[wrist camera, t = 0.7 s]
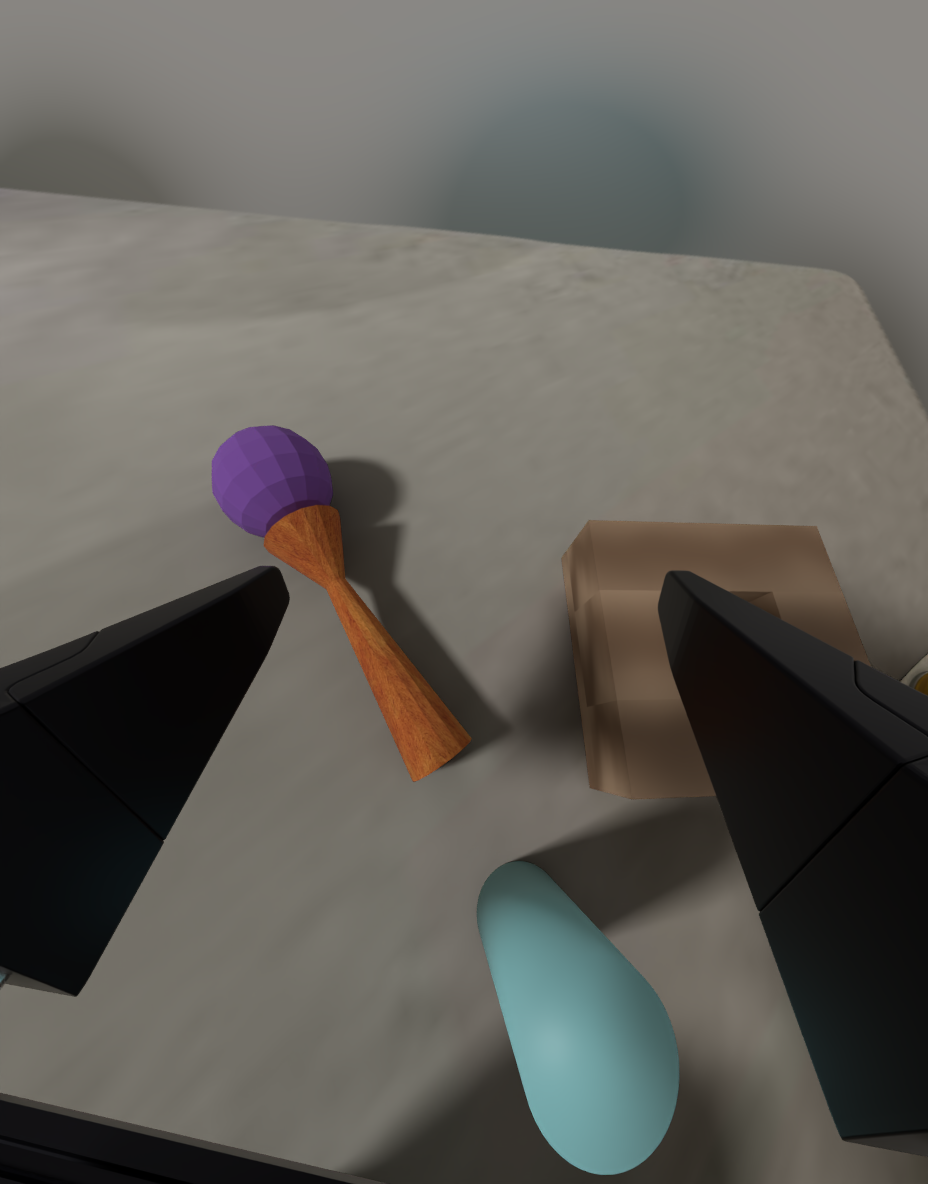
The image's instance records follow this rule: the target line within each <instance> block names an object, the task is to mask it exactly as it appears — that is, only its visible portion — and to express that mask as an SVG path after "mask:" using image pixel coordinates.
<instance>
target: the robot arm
mask: <svg viewBox="0 0 928 1184" xmlns="http://www.w3.org/2000/svg"><path fill="white" fill-rule="evenodd" d="M289 600H290V597H289V592H288V590H287V587H286V584H285V582H284V579H283V576H282V574H281V571H280V570H279V569H278V568H277V567H275V566H259V567H256V568H253V569H251V570H248V571H246V572H243V573H241V574H238V575H236V576H233V577H231V578H229V579H226V580H224V581H221V582H219V583H216V584H214V585H211V586H209V587H206V588H204V589H201V590H199V591H196V592H194V593H191V594H189V595H186V596H184V597H181V598H179V599H176V600H174V601H171V602H169V603H166V604H164V605H161V606H159V607H156V608H154V609H151V610H149V611H146V612H144V613H141V614H139V615H136V616H134V617H131V618H129V619H126V620H124V621H121V622H119V623H116V624H114V625H111V626H109V627H106V628H104V629H102V630H101V631H100V632H99V631H96V632H94V633H91V634H89V635H86V636H84V637H81V638H79V639H76V640H74V641H71V642H68V643H66V644H63V645H61V646H58V647H56V648H53V649H51V650H48V651H45V652H43V653H40V654H37V655H35V656H32V657H29V658H27V659H24V660H21V661H19V662H16V663H13V664H11V665H8V666H5V667H2V668H0V990H1V988H2V987H3V986H4V985H5V984H10V985H15V986H21V987H26V988H31V989H37V990H42V991H47V992H53V993H58V994H63V995H69V996H74V997H76V996H78V994H79V993H80V991H81V990H82V988H83V987H84V985H85V984H86V982H87V981H88V979H89V977H90V976H91V974H92V972H93V970H94V968H95V966H96V965H97V963H98V961H99V959H100V957H101V956H102V954H103V952H104V950H105V948H106V947H107V945H108V943H109V941H110V939H111V937H112V936H113V934H114V932H115V930H116V928H117V927H118V925H119V923H120V921H121V919H122V918H123V916H124V914H125V912H126V910H127V908H128V907H129V905H130V903H131V901H132V899H133V898H134V896H135V894H136V892H137V890H138V889H139V887H140V885H141V883H142V881H143V879H144V878H145V876H146V874H147V872H148V870H149V869H150V867H151V865H152V863H153V861H154V860H155V858H156V856H157V854H158V852H159V850H160V849H161V847H162V845H163V843H164V841H163V840H165V839H166V837H167V835H168V834H169V832H170V830H171V828H172V826H173V824H174V823H175V821H176V819H177V817H178V815H179V814H180V812H181V810H182V808H183V806H184V805H185V803H186V801H187V799H188V797H189V796H190V794H191V792H192V790H193V788H194V786H195V785H196V783H197V781H198V779H199V777H200V776H201V774H202V772H203V770H204V768H205V767H206V765H207V763H208V761H209V759H210V758H211V756H212V754H213V752H214V750H215V748H216V747H217V745H218V743H219V741H220V739H221V738H222V736H223V734H224V732H225V730H226V729H227V727H228V725H229V723H230V721H231V720H232V718H233V716H234V714H235V712H236V710H237V709H238V707H239V705H240V703H241V701H242V700H243V698H244V696H245V694H246V692H247V691H248V689H249V687H250V685H251V683H252V682H253V680H254V678H255V676H256V674H257V672H258V671H259V669H260V667H261V665H262V663H263V662H264V660H265V658H266V656H267V654H268V652H269V650H270V647H271V645H272V643H273V640H274V638H275V636H276V633H277V631H278V628H279V626H280V624H281V621H282V619H283V616H284V614H285V612H286V609H287V607H288V604H289ZM658 614H659V619H660V623H661V628H662V633H663V637H664V642H665V646H666V651H667V655H668V660H669V664H670V668H671V672H672V675H673V678H674V681H675V684H676V686H677V689H678V692H679V695H680V697H681V700H682V703H683V706H684V708H685V711H686V714H687V717H688V720H689V722H690V725H691V728H692V731H693V733H694V736H695V739H696V742H697V744H698V747H699V750H700V753H701V755H702V758H703V761H704V764H705V766H706V769H707V772H708V775H709V777H710V780H711V783H712V786H713V789H714V791H715V794H716V797H717V800H718V802H719V805H720V808H721V811H722V813H723V816H724V819H725V822H726V824H727V827H728V830H729V833H730V835H731V838H732V841H733V844H734V846H735V849H736V852H737V855H738V857H739V860H740V863H741V866H742V869H743V871H744V874H745V877H746V880H747V882H748V885H749V888H750V891H751V893H752V896H753V899H754V902H755V904H756V907H757V909H758V911H760V913H759V916H760V919H761V922H762V925H763V927H764V930H765V933H766V936H767V938H768V941H769V944H770V947H771V949H772V952H773V955H774V958H775V961H776V963H777V966H778V969H779V972H780V974H781V977H782V980H783V983H784V985H785V988H786V991H787V994H788V996H789V999H790V1002H791V1005H792V1007H793V1010H794V1013H795V1016H796V1018H797V1021H798V1024H799V1027H800V1030H801V1032H802V1035H803V1038H804V1041H805V1043H806V1046H807V1049H808V1052H809V1054H810V1057H811V1060H812V1063H813V1065H814V1068H815V1071H816V1074H817V1076H818V1079H819V1082H820V1085H821V1087H822V1090H823V1093H824V1096H825V1099H826V1101H827V1104H828V1107H829V1110H830V1112H831V1115H832V1117H833V1120H834V1123H835V1125H836V1127H837V1130H838V1132H839V1134H840V1137H841V1139H842V1140H844V1141H846V1142H851V1143H857V1144H862V1145H867V1146H873V1147H878V1148H883V1149H889V1150H894V1151H899V1152H905V1153H910V1154H915V1155H921V1156H926V1157H928V696H927V695H925V694H923V693H921V692H919V691H917V690H915V689H913V688H911V687H909V686H907V685H905V684H904V683H902V682H900V681H898V680H896V679H894V678H892V677H890V676H888V675H886V674H884V673H882V672H880V671H878V670H876V669H875V668H873V667H871V666H869V665H867V664H865V663H863V662H861V661H859V660H855V661H854V658H853V657H852V656H850V655H848V654H846V653H844V652H842V651H840V650H838V649H837V648H835V647H833V646H831V645H829V644H827V643H825V642H823V641H821V640H819V639H818V638H816V637H814V636H812V635H810V634H808V633H806V632H804V631H802V630H801V629H799V628H797V627H795V626H793V625H791V624H789V623H787V622H785V621H783V620H782V619H780V618H778V617H776V616H774V615H772V614H770V613H768V612H766V611H765V610H763V609H761V608H759V607H757V606H755V605H753V604H751V603H749V602H748V601H746V600H744V599H742V598H740V597H738V596H736V595H734V594H732V593H730V592H729V591H727V590H725V589H723V588H721V587H719V586H717V585H715V584H713V583H712V582H710V581H708V580H706V579H704V578H702V577H700V576H698V575H696V574H695V573H693V572H691V571H687V570H671V571H669V572H667V574H666V575H665V578H664V582H663V586H662V590H661V593H660V597H659V601H658ZM0 1184H387V1183H383V1182H379V1181H375V1180H370V1179H366V1178H362V1177H358V1176H353V1175H349V1174H345V1173H340V1172H336V1171H332V1170H328V1169H323V1168H319V1167H315V1166H311V1165H306V1164H302V1163H298V1162H294V1161H289V1160H285V1159H281V1158H276V1157H272V1156H268V1155H264V1154H259V1153H255V1152H251V1151H247V1150H242V1149H238V1148H234V1147H229V1146H225V1145H221V1144H217V1143H212V1142H208V1141H204V1140H200V1139H195V1138H191V1137H187V1136H183V1135H178V1134H174V1133H170V1132H165V1131H161V1130H157V1129H153V1128H148V1127H144V1126H140V1125H136V1124H131V1123H127V1122H123V1121H119V1120H114V1119H110V1118H106V1117H101V1116H97V1115H93V1114H89V1113H84V1112H80V1111H76V1110H72V1109H67V1108H63V1107H59V1106H54V1105H50V1104H46V1103H42V1102H37V1101H33V1100H29V1099H25V1098H20V1097H16V1096H12V1095H8V1094H3V1093H0Z"/></svg>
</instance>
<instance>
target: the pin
mask: <svg viewBox="0 0 928 1184" xmlns="http://www.w3.org/2000/svg"><path fill="white" fill-rule="evenodd" d="M477 923H478V928H479V932H480V936H481V939H482V943H483V946H484V950H485V953H486V957H487V960H488V964H489V967H490V971H491V974H492V978H493V981H494V985H495V988H496V992H497V995H498V999H499V1003H500V1006H501V1010H502V1013H503V1017H504V1020H505V1024H506V1027H507V1031H508V1034H509V1038H510V1041H511V1045H512V1048H513V1052H514V1055H515V1059H516V1062H517V1066H518V1069H519V1073H520V1076H521V1080H522V1084H523V1087H524V1091H525V1094H526V1097H527V1101H528V1104H529V1107H530V1110H531V1112H532V1115H533V1117H534V1119H535V1122H536V1123H537V1125H538V1127H539V1129H540V1131H541V1132H542V1134H543V1136H544V1137H545V1138H546V1140H547V1141H548V1142H549V1144H550V1145H551V1146H552V1147H553V1148H554V1150H555V1151H556V1152H557V1153H558V1154H559V1155H560V1156H561V1157H563V1158H564V1159H565V1160H566V1161H568V1162H569V1163H570V1164H572V1165H574V1166H576V1167H577V1168H579V1169H581V1170H584V1171H587V1172H590V1173H594V1174H600V1175H614V1174H618V1173H622V1172H626V1171H628V1170H630V1169H632V1168H635V1167H636V1166H637V1165H639V1164H640V1163H642V1162H643V1161H645V1160H646V1159H647V1158H648V1157H649V1156H650V1155H651V1154H652V1153H653V1152H654V1150H655V1149H656V1148H657V1146H658V1145H659V1144H660V1142H661V1141H662V1139H663V1137H664V1135H665V1134H666V1132H667V1130H668V1127H669V1125H670V1122H671V1120H672V1117H673V1114H674V1110H675V1107H676V1102H677V1096H678V1089H679V1058H678V1049H677V1044H676V1039H675V1035H674V1031H673V1028H672V1025H671V1022H670V1019H669V1017H668V1014H667V1012H666V1009H665V1008H664V1006H663V1004H662V1002H661V1000H660V998H659V997H658V995H657V994H656V992H655V991H654V989H653V988H652V987H651V985H650V984H649V983H648V982H647V981H646V979H645V978H644V977H643V976H642V975H641V974H640V973H639V972H638V971H637V970H636V969H635V968H634V966H633V965H632V964H631V963H630V962H629V961H628V960H627V959H626V958H625V957H624V956H623V955H622V954H621V953H620V951H619V950H618V949H617V948H616V947H615V946H614V945H613V944H612V943H611V942H610V941H609V940H608V939H607V938H606V936H605V935H604V934H603V933H602V932H601V931H600V930H599V929H598V928H597V927H596V926H595V925H594V924H593V922H592V921H591V920H590V919H589V918H588V917H587V916H586V915H585V914H584V913H583V912H582V911H581V910H580V909H579V907H578V906H577V905H576V904H575V903H574V902H573V901H572V900H571V899H570V898H569V897H568V896H567V895H566V893H565V892H564V891H563V890H562V889H561V888H560V887H559V886H558V885H557V884H556V883H555V882H554V881H553V880H552V878H551V877H550V876H549V875H548V874H547V873H546V872H545V871H544V870H542V869H541V868H540V867H538V866H536V865H534V864H532V863H529V862H524V861H514V862H509V863H506V864H504V865H502V866H500V867H499V868H497V869H496V870H495V871H494V872H493V873H492V874H491V875H490V876H489V877H488V878H487V880H486V881H485V883H484V885H483V887H482V889H481V892H480V895H479V899H478V904H477Z"/></svg>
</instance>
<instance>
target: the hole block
mask: <svg viewBox="0 0 928 1184" xmlns="http://www.w3.org/2000/svg"><path fill="white" fill-rule="evenodd" d="M562 566H563V574H564V583H565V591H566V599H567V607H568V615H569V623H570V631H571V639H572V647H573V655H574V663H575V671H576V680H577V688H578V696H579V704H580V712H581V720H582V728H583V736H584V744H585V752H586V760H587V768H588V776H589V785H590V788H592V789H596V790H599V791H603V792H607V793H611V794H614V795H618V796H622V797H625V798H629V799H655V798H679V797H703V796H716V794H715V791H714V789H713V786H712V783H711V780H710V777H709V775H708V772H707V769H706V766H705V764H704V761H703V758H702V755H701V753H700V750H699V747H698V744H697V742H696V739H695V736H694V733H693V731H692V728H691V725H690V722H689V720H688V717H687V714H686V711H685V708H684V706H683V703H682V700H681V697H680V695H679V692H678V689H677V686H676V684H675V681H674V678H673V675H672V672H671V668H670V664H669V660H668V655H667V651H666V646H665V642H664V637H663V633H662V628H661V623H660V619H659V614H658V601H659V597H660V593H661V590H662V586H663V582H664V578H665V575H666V574H667V572H669V571H671V570H687V571H691V572H693V573H695V574H696V575H698V576H700V577H702V578H704V579H706V580H708V581H710V582H712V583H713V584H715V585H717V586H719V587H721V588H723V589H725V590H727V591H729V592H730V593H732V594H734V595H736V596H738V597H740V598H742V599H744V600H746V601H748V602H749V603H751V604H753V605H755V606H757V607H759V608H761V609H763V610H765V611H766V612H768V613H770V614H772V615H774V616H776V617H778V618H780V619H782V620H783V621H785V622H787V623H789V624H791V625H793V626H795V627H797V628H799V629H801V630H802V631H804V632H806V633H808V634H810V635H812V636H814V637H816V638H818V639H819V640H821V641H823V642H825V643H827V644H829V645H831V646H833V647H835V648H837V649H838V650H840V651H842V652H844V653H846V654H848V655H850V656H852V657H853V658H854V661H855V660H859V661H861V662H863V663H865V664H867V665H869V666H871V665H870V663H869V660H868V657H867V655H866V652H865V650H864V647H863V644H862V642H861V639H860V637H859V634H858V632H857V629H856V626H855V624H854V621H853V619H852V616H851V614H850V611H849V608H848V606H847V603H846V601H845V598H844V596H843V593H842V590H841V588H840V585H839V583H838V580H837V578H836V575H835V572H834V570H833V567H832V565H831V562H830V559H829V557H828V554H827V552H826V549H825V547H824V544H823V541H822V539H821V536H820V534H819V531H818V529H817V526H788V525H750V524H711V523H673V522H635V521H596V520H589V521H588V522H587V524H586V525H585V526H584V528H583V529H582V530H581V532H580V533H579V534H578V536H577V537H576V539H575V540H574V541H573V543H572V544H571V545H570V547H569V548H568V550H567V551H566V552H565V554H564V555H563V556H562Z"/></svg>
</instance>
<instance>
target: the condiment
mask: <svg viewBox="0 0 928 1184" xmlns="http://www.w3.org/2000/svg"><path fill="white" fill-rule="evenodd" d="M900 682H902V683H904V684H905V685H907V686H909V687H911V688H913V689H915V690H917V691H919V692H921V693H923V694H925V695H927V696H928V654H927V655H926V656H925V657H924V658H923V659H922V660H921V661H920V662H919V663H918V664H917V665H916V666H915V667H914V668H912V669H911V671H910V672H909V673H908V674H907V675H906V676H905V677H904V678H903V679H902V680H901V681H900Z"/></svg>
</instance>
